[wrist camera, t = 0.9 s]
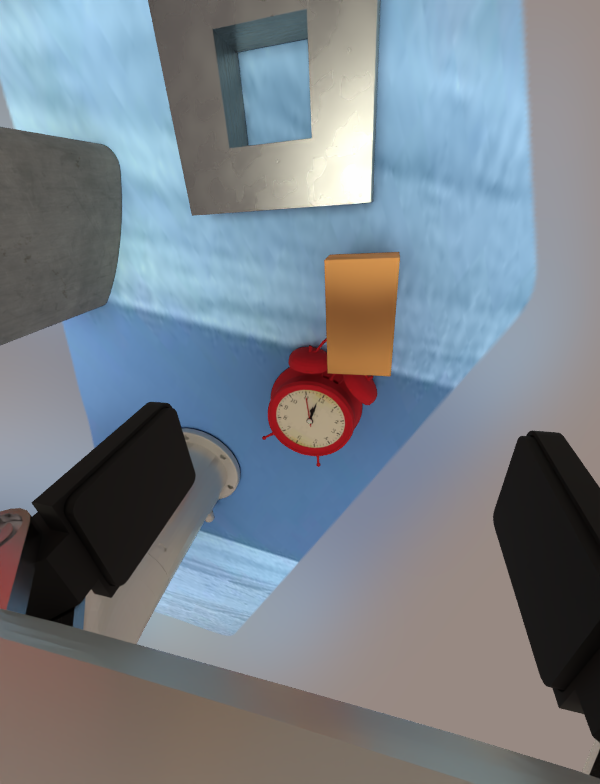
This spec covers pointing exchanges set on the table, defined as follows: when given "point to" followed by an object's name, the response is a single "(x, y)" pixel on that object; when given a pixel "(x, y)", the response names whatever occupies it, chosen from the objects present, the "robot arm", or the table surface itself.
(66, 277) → the hip flask
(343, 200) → the collar
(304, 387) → the alarm clock
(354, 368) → the wooden peg block
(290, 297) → the table surface
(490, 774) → the robot arm
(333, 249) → the table surface
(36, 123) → the table surface
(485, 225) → the table surface
